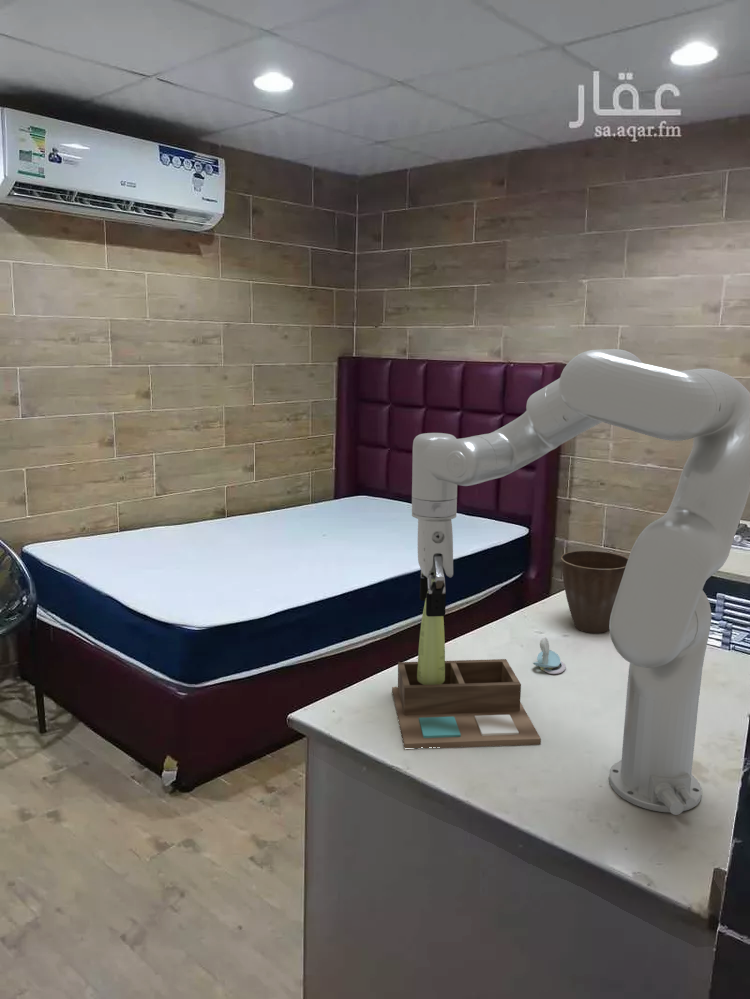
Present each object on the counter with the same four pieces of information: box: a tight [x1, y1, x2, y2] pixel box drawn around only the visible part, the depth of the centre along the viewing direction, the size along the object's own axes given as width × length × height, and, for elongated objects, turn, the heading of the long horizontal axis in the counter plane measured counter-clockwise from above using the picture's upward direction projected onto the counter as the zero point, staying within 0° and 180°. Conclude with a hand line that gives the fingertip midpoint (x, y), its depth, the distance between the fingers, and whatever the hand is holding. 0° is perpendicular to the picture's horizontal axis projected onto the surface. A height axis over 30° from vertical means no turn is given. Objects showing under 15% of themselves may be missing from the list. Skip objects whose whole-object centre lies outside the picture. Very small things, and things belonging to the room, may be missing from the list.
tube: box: [417, 572, 446, 685], centre depth 132 cm, size 6×5×20 cm
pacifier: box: [532, 637, 567, 675], centre depth 150 cm, size 7×6×6 cm
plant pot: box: [560, 550, 629, 634], centre depth 171 cm, size 15×15×16 cm
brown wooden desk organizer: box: [391, 658, 542, 749], centre depth 131 cm, size 20×22×6 cm
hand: (432, 607), depth 132 cm, fingers closed on tube, 7 cm apart
